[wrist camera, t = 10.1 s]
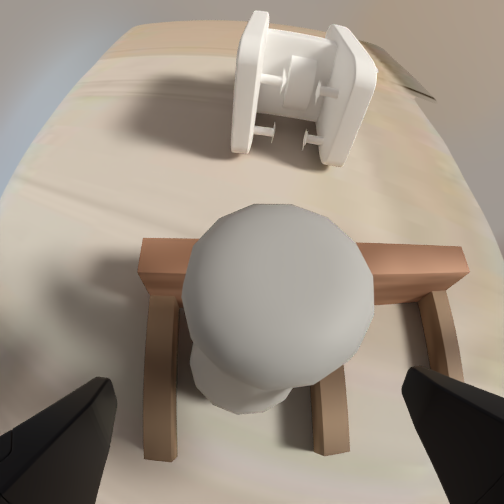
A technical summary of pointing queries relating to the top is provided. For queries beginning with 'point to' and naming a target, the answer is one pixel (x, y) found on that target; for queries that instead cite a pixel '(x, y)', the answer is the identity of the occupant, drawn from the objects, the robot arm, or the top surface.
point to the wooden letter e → (333, 385)
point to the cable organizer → (302, 85)
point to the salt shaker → (273, 304)
